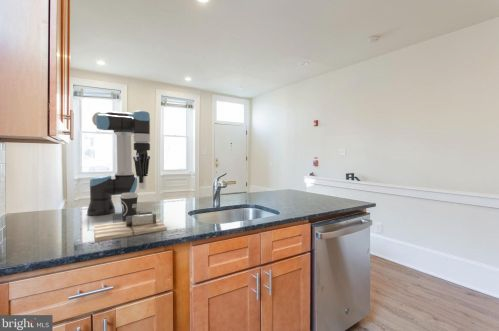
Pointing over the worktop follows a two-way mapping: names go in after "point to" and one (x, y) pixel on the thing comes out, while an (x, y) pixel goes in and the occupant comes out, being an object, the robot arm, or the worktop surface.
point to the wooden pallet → (126, 229)
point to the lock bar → (140, 219)
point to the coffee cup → (128, 204)
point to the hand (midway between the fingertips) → (142, 189)
